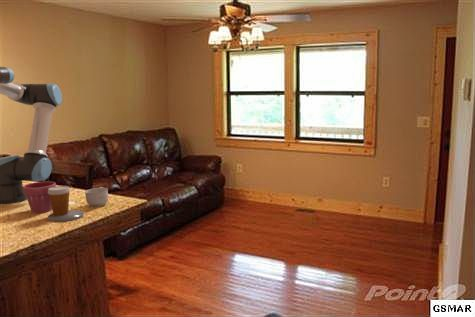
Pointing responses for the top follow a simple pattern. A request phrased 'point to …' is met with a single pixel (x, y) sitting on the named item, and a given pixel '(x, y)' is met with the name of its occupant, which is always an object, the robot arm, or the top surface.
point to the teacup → (97, 196)
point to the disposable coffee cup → (59, 199)
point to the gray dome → (66, 216)
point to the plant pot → (38, 196)
